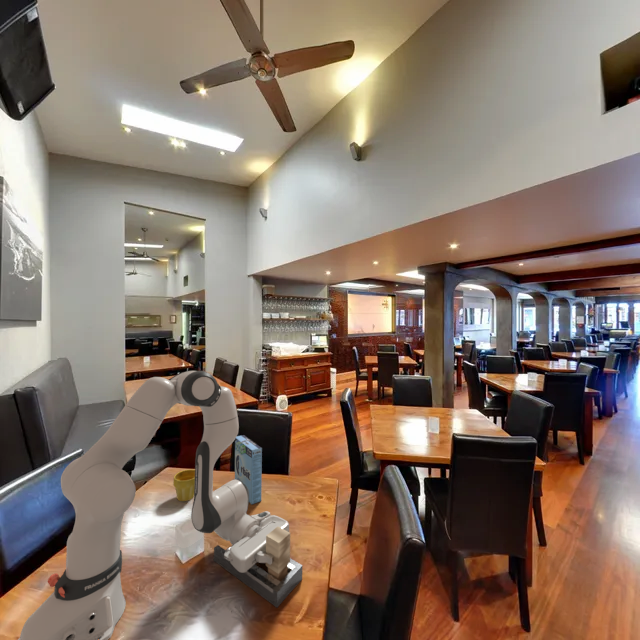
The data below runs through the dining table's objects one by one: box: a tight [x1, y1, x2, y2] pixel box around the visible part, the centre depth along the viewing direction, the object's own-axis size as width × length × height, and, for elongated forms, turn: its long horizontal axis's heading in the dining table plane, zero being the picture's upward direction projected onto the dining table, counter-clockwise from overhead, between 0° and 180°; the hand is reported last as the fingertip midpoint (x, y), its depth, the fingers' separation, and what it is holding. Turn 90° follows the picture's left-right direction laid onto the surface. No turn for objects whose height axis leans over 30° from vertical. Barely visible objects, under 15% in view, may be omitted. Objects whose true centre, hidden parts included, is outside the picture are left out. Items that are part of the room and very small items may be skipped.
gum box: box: [234, 434, 263, 505], centre depth 133 cm, size 20×5×23 cm, turn 37°
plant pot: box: [173, 468, 195, 502], centre depth 128 cm, size 10×10×10 cm
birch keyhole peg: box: [265, 527, 291, 582], centre depth 86 cm, size 6×6×14 cm
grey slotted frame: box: [213, 544, 303, 608], centre depth 91 cm, size 11×28×4 cm, turn 56°
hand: (280, 553), depth 85 cm, fingers closed on birch keyhole peg, 5 cm apart
